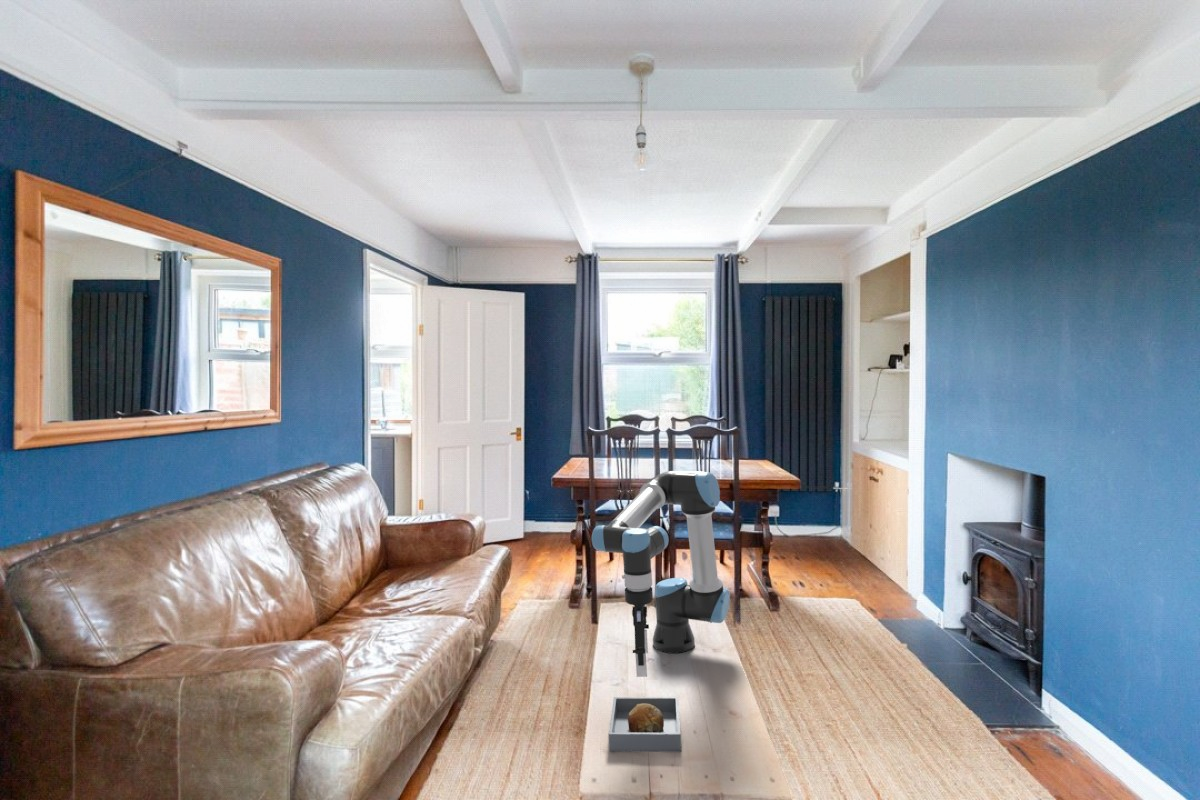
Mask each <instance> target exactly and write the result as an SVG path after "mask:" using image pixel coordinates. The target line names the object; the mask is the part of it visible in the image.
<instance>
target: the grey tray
mask: <svg viewBox="0 0 1200 800" xmlns="http://www.w3.org/2000/svg"><path fill="white" fill-rule="evenodd" d="M642 703H647V704H651V705H653V706H655V707H656V708H658V709H659V710H660V711H661V713H662V715H663V720H664V727H663V729H662V730H661V732H659V733H644V732H630V730H629V725H628V715H629V713H630V711H631V710H632V709H633V708H634V707H635V706H636V705H637V704H642ZM679 705H680V703H679V696H614V697H613V701H612V707H611V708H612V709H611V714H610V721H609V729H608V750H609V752H656V753H657V752H661V753H664V752H665V753H666V752H667V753H668V752H670V753H671V752H673V753H675V752H676V753H680V752H681V753H682V738H681V724H680V719H681V718H680V706H679Z"/></svg>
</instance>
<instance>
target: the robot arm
mask: <svg viewBox="0 0 1200 800" xmlns="http://www.w3.org/2000/svg"><path fill="white" fill-rule="evenodd" d="M720 495H721V492H720V485H719V481H718V479H717V477H716V475H714V474H713V473H712V472H711V471H710V472H709V471H702V470H698V471H697V470H696V471H695V470H688V471H686V470H684V471H683V470H669V471H665V472H662V473H659V474H658V475H655V476H654V477H652V478H650V479H649V480H647V481H646V482H645V483H644V484H643V485H642V486H641V487H640V489H639V493H638V494H637V495H636V496H635V498H634V499H632V500H631V502H629V504H627V505H626V506H625V507H624V509H623V510H622V511H620V513H619V514H618V515H617V516H615V518H614V519H613V520H611V522H610V523H608V525H604V524H603V525H597V526H595V527H594V528H593V530H592V532H591V533H592V534H591V544H592V546H593V549H595V550H596V551H598V552H599V551H600V552H604V553H615V554H616V553H617V554H622V559H623V560H622V561H623V574H622V575H621V578H622V579H623V580H624V587H625V588H624V599H625V603H627V604H628V605H631V606H632V610H631V615H632V617H633V618H632V621H633V622H632V623H633V627H634V649H632V654H635V668H636V669H635V671H636V677H637V678H639V677H643V678H645V677H648V668H647V666H648V665H647V654H648V653H649V649H648V647H649V646H648V630H647V629H650V625H649V624H648V623H647V617H648V606H647V605H649V604H651V603H652V602H653V601H655V615H656V625H655V629H654V633H653V636H652V646H653V645H654V646H653V647H654V649H656V648H657V649H656V650H658V649H659V650H658V651H660V650H662V651H661V652H663V651H665V652H664V653H668V652H671V653H670V654H678V653H677V652H680V653H684V652H688V651H690V650H692V649H693V648H694V647H695V645H696V644H695V643H696V642H695V636H694V633H693V630H692V628H691V625H690V620H692V621H699V622H700V621H701V622H706V623H710V624H712V623H714V624H721V623H722V624H723V622H724V621H725V620H726V618H727V616H728V613H729V612H728V611H729V610H730V609H729V607H730V602H731V601H730V600H731V595H730V591H729V590H728V589H727V588H724V584H723V580H721V579H720V578H719V577H718V568H717V558H716V556H717V555H716V548H715V547H716V546H715V538H714V537H715V536H714V527H713V519H712V514H713V513H714V512H715V510H716V507H718V506H719V503H720V501H721V498H720V497H721V496H720ZM664 505H675V506H676V505H677V506H680V510H681V513H682V514H683V515H684V516H686V525H687V533H688V534H687V535H688V542H689V543H688V544H689V553H690V562H691V572H692V580H690V582H689V584H688V581H687V579H685V578H683V577H672V578H666V579H663V580H661V581H659V582H657V584H655V587H654V591H655V592H654V595H653V587H652V586H653V573H652V566H651V565H652V559H654V557H656V556H657V555H660V554H661V553H663V552H664V550H665V549H667V547H668V545H669V543H670V542H669V541H670V540H669V535H668V532H667V531H666V530H665V529H664V528H663V527H661V526H658V525H655V526H650V527H648V528H642V525H644V523H645V522H646V521H647V520H648V519H649V517H651V515H652V514H653V513H654V512H655V511H656V510H658V509H661V508H662V507H664ZM653 598H654V600H653Z"/></svg>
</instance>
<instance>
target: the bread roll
mask: <svg viewBox="0 0 1200 800" xmlns="http://www.w3.org/2000/svg"><path fill="white" fill-rule="evenodd" d="M628 725H629V730H630V732H644V733H659V732H661V730H662V729H663V727H664V720H663V715H662V713H661V711H660V710H659V709H658V708H656V707H655V706H653V705H651V704H647V703H642V704H637V705H636V706H635V707H634V708H633V709H632V710H631V711H630V713H629V715H628Z"/></svg>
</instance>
